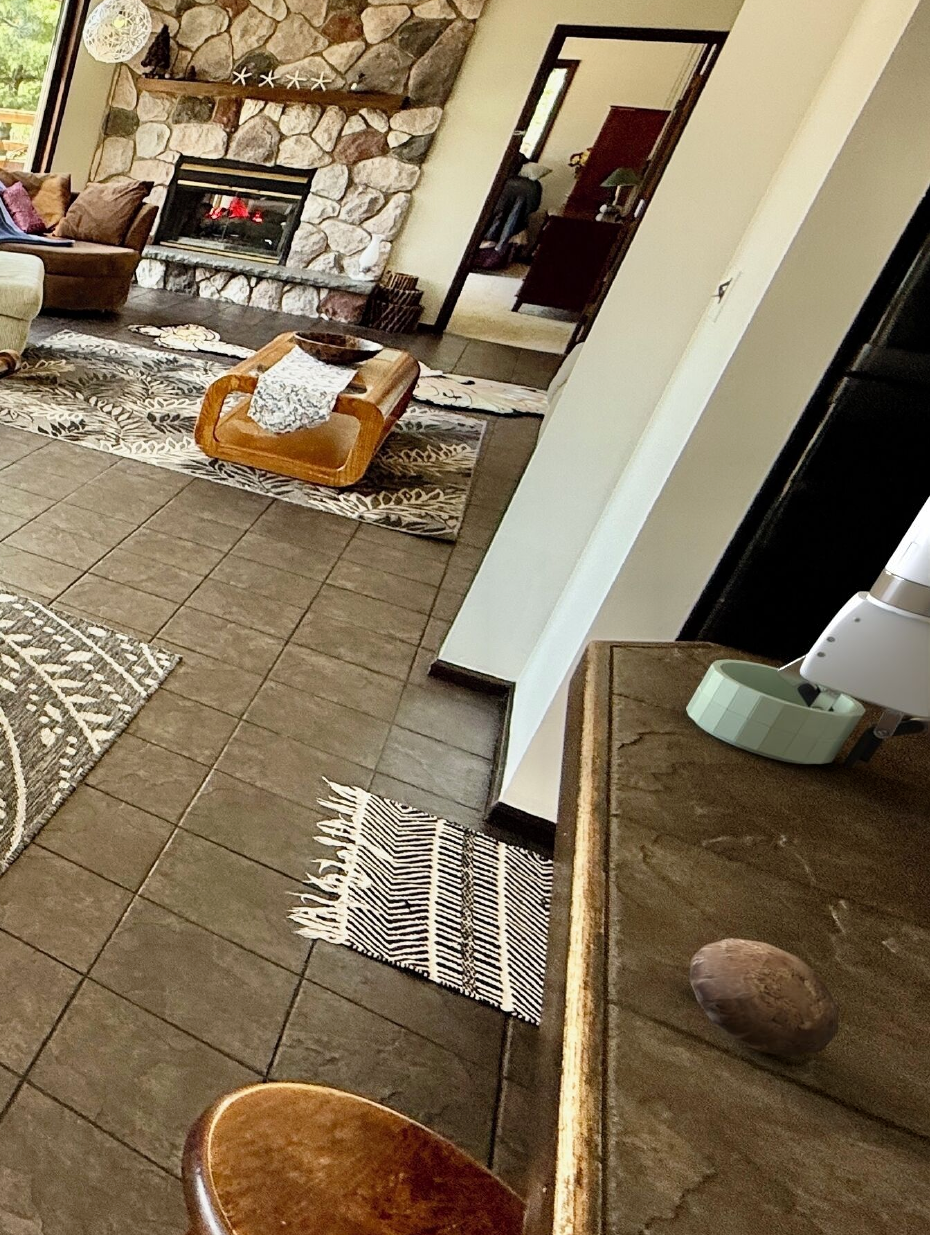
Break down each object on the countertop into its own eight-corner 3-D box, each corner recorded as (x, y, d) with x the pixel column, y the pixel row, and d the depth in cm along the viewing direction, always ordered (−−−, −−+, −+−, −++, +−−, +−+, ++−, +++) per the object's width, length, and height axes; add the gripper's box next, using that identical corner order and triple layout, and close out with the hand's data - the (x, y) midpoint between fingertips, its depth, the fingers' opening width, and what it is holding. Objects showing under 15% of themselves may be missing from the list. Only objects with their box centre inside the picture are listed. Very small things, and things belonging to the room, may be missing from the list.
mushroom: (669, 920, 78) (752, 905, 73) (783, 999, 76) (878, 990, 70) (636, 1003, 76) (720, 994, 70) (754, 1088, 73) (850, 1085, 68)
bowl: (755, 713, 118) (786, 664, 115) (863, 773, 107) (899, 720, 105) (655, 704, 118) (683, 655, 115) (753, 763, 107) (786, 710, 105)
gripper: (1067, 627, 97) (950, 788, 104) (821, 561, 109) (732, 709, 116) (1059, 644, 93) (938, 809, 100) (804, 573, 105) (713, 725, 112)
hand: (828, 754), depth 108 cm, fingers closed
